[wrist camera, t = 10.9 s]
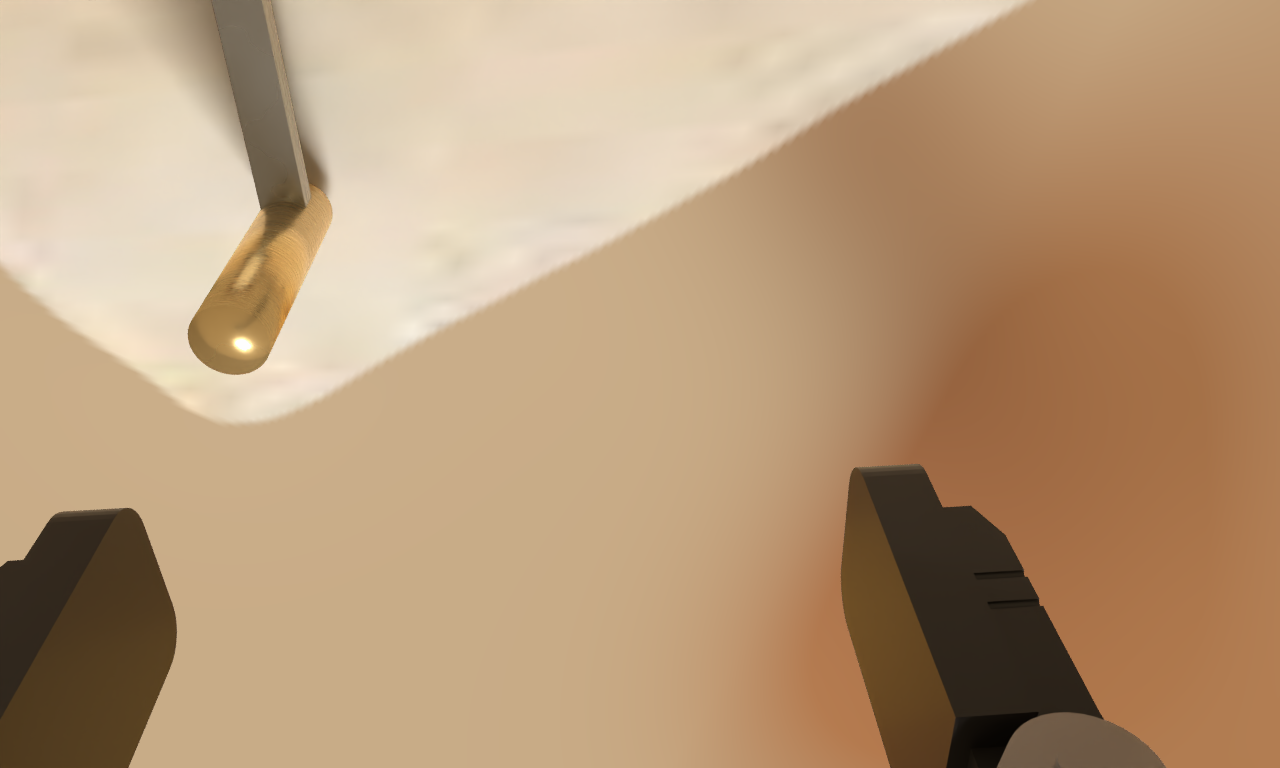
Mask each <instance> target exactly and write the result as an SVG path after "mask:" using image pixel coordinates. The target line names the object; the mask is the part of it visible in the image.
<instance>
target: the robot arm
mask: <svg viewBox="0 0 1280 768" xmlns="http://www.w3.org/2000/svg"><path fill="white" fill-rule="evenodd" d="M841 590H842V601H843V608H844V614H845V619H846V623H847V626H848V630H849V633H850V636H851V640H852V643H853V646H854V649H855V653H856V656H857V659H858V663H859V666H860V669H861V672H862V675H863V679H864V682H865V685H866V689H867V692H868V695H869V699H870V702H871V705H872V708H873V712H874V715H875V718H876V721H877V725H878V728H879V731H880V735H881V738H882V741H883V745H884V748H885V751H886V754H887V758H888V761H889V764H890V767H891V768H1166V767H1165V765H1164V764H1163V763H1162V761H1161V760H1160V758H1159V757H1158V756H1157V755H1156V754H1155V753H1154V752H1153V751H1152V750H1151V749H1150V748H1149V747H1148V746H1147V745H1146V744H1145V743H1144V742H1142V741H1141V740H1140V739H1139V738H1137V737H1136V736H1135V735H1133V734H1131V733H1130V732H1128V731H1127V730H1125V729H1124V728H1121V727H1119V726H1117V725H1115V724H1113V723H1111V722H1109V721H1106V720H1104V719H1103V717H1102V715H1101V714H1100V712H1099V710H1098V709H1097V707H1096V705H1095V703H1094V701H1093V699H1092V697H1091V695H1090V694H1089V692H1088V690H1087V688H1086V686H1085V684H1084V682H1083V680H1082V678H1081V676H1080V675H1079V673H1078V671H1077V669H1076V667H1075V665H1074V663H1073V661H1072V660H1071V658H1070V656H1069V654H1068V652H1067V650H1066V648H1065V646H1064V644H1063V643H1062V641H1061V639H1060V637H1059V635H1058V634H1057V631H1056V629H1055V628H1054V626H1053V624H1052V622H1051V620H1050V618H1049V617H1048V614H1047V613H1046V611H1045V609H1044V607H1043V606H1040V604H1039V597H1038V596H1037V594H1036V592H1035V590H1034V588H1033V586H1032V584H1031V583H1030V581H1029V579H1028V577H1025V576H1024V569H1023V567H1022V565H1021V564H1020V562H1019V560H1018V558H1017V556H1016V554H1015V552H1014V551H1013V549H1012V547H1011V545H1010V543H1009V541H1008V539H1007V537H1006V535H1005V534H1004V533H1002V532H1001V531H1000V530H999V529H998V528H996V527H995V526H994V525H993V524H992V523H991V522H989V521H988V520H987V519H986V518H985V517H983V516H982V515H981V514H980V513H979V512H978V511H976V510H975V509H974V508H972V506H962V507H944V508H943V507H942V505H941V503H940V501H939V499H938V497H937V495H936V492H935V490H934V488H933V486H932V484H931V482H930V480H929V477H928V475H927V473H926V471H925V470H924V468H923V467H922V466H921V465H920V464H909V465H894V466H893V465H892V466H877V467H876V466H875V467H859V468H854V469H853V471H852V473H851V476H850V482H849V491H848V502H847V513H846V523H845V534H844V544H843V555H842V566H841ZM176 636H177V627H176V617H175V611H174V608H173V604H172V602H171V599H170V596H169V593H168V591H167V588H166V585H165V582H164V579H163V577H162V574H161V571H160V568H159V566H158V563H157V560H156V557H155V555H154V552H153V549H152V546H151V543H150V541H149V538H148V535H147V532H146V530H145V527H144V524H143V522H142V519H141V518H140V516H139V515H138V513H137V512H136V511H134V510H133V509H131V508H119V509H103V510H102V509H101V510H84V511H67V512H59V513H57V514H55V515H54V516H53V517H52V518H51V519H50V520H49V522H48V523H47V524H46V526H45V528H44V529H43V531H42V532H41V534H40V535H39V537H38V538H37V540H36V542H35V543H34V545H33V546H32V548H31V549H30V551H29V552H28V554H27V556H26V557H25V558H24V560H17V561H7V562H6V563H5V564H4V565H3V566H1V567H0V768H128V767H129V765H130V762H131V760H132V757H133V755H134V753H135V750H136V748H137V746H138V743H139V741H140V738H141V736H142V734H143V731H144V729H145V727H146V724H147V722H148V719H149V717H150V715H151V712H152V710H153V707H154V705H155V703H156V700H157V698H158V695H159V693H160V691H161V688H162V686H163V684H164V681H165V679H166V677H167V674H168V672H169V669H170V667H171V664H172V661H173V658H174V654H175V648H176V638H177V637H176Z"/></svg>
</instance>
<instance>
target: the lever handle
mask: <svg viewBox="0 0 1280 768" xmlns="http://www.w3.org/2000/svg"><path fill="white" fill-rule="evenodd" d="M212 5H213V9H214V13H215V17H216V21H217V26H218V30H219V34H220V38H221V43H222V47H223V51H224V55H225V60H226V64H227V68H228V72H229V77H230V81H231V85H232V89H233V93H234V98H235V102H236V106H237V110H238V115H239V119H240V123H241V127H242V132H243V136H244V140H245V144H246V148H247V153H248V157H249V161H250V165H251V170H252V174H253V178H254V182H255V187H256V191H257V195H258V199H259V203H260V208H261V210H260V212H259V214H258V215H257V217H256V218H255V220H254V222H253V223H252V225H251V226H250V228H249V230H248V231H247V233H246V234H245V236H244V238H243V239H242V241H241V242H240V244H239V246H238V247H237V249H236V250H235V252H234V254H233V255H232V257H231V258H230V260H229V262H228V263H227V265H226V266H225V268H224V270H223V271H222V273H221V274H220V276H219V278H218V279H217V281H216V282H215V284H214V286H213V287H212V289H211V290H210V292H209V294H208V295H207V297H206V298H205V300H204V302H203V303H202V305H201V306H200V308H199V310H198V311H197V313H196V314H195V316H194V318H193V319H192V321H191V323H190V325H189V329H188V340H189V344H190V347H191V349H192V351H193V352H194V354H195V355H196V356H197V358H198V359H199V360H200V361H201V362H203V363H204V364H205V365H207V366H208V367H210V368H212V369H214V370H216V371H218V372H222V373H226V374H232V375H240V374H246V373H250V372H252V371H254V370H256V369H258V368H259V367H261V366H262V365H263V364H264V362H265V361H266V360H267V358H268V356H269V354H270V352H271V349H272V347H273V345H274V343H275V341H276V339H277V337H278V335H279V332H280V330H281V328H282V326H283V324H284V322H285V320H286V317H287V315H288V313H289V311H290V309H291V307H292V305H293V303H294V300H295V298H296V296H297V294H298V292H299V290H300V288H301V286H302V283H303V281H304V279H305V277H306V275H307V273H308V271H309V269H310V266H311V264H312V262H313V260H314V258H315V256H316V254H317V252H318V249H319V247H320V245H321V243H322V241H323V239H324V237H325V235H326V232H327V230H328V228H329V226H330V224H331V221H332V207H331V204H330V201H329V200H328V198H327V196H326V195H325V194H324V193H323V192H322V191H321V190H320V189H319V188H317V187H316V186H314V185H312V184H310V183H308V178H307V173H306V168H305V164H304V159H303V154H302V149H301V144H300V140H299V135H298V130H297V125H296V120H295V116H294V111H293V106H292V101H291V96H290V91H289V87H288V82H287V77H286V72H285V67H284V63H283V58H282V53H281V48H280V43H279V39H278V34H277V29H276V24H275V19H274V14H273V10H272V5H271V0H212Z"/></svg>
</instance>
